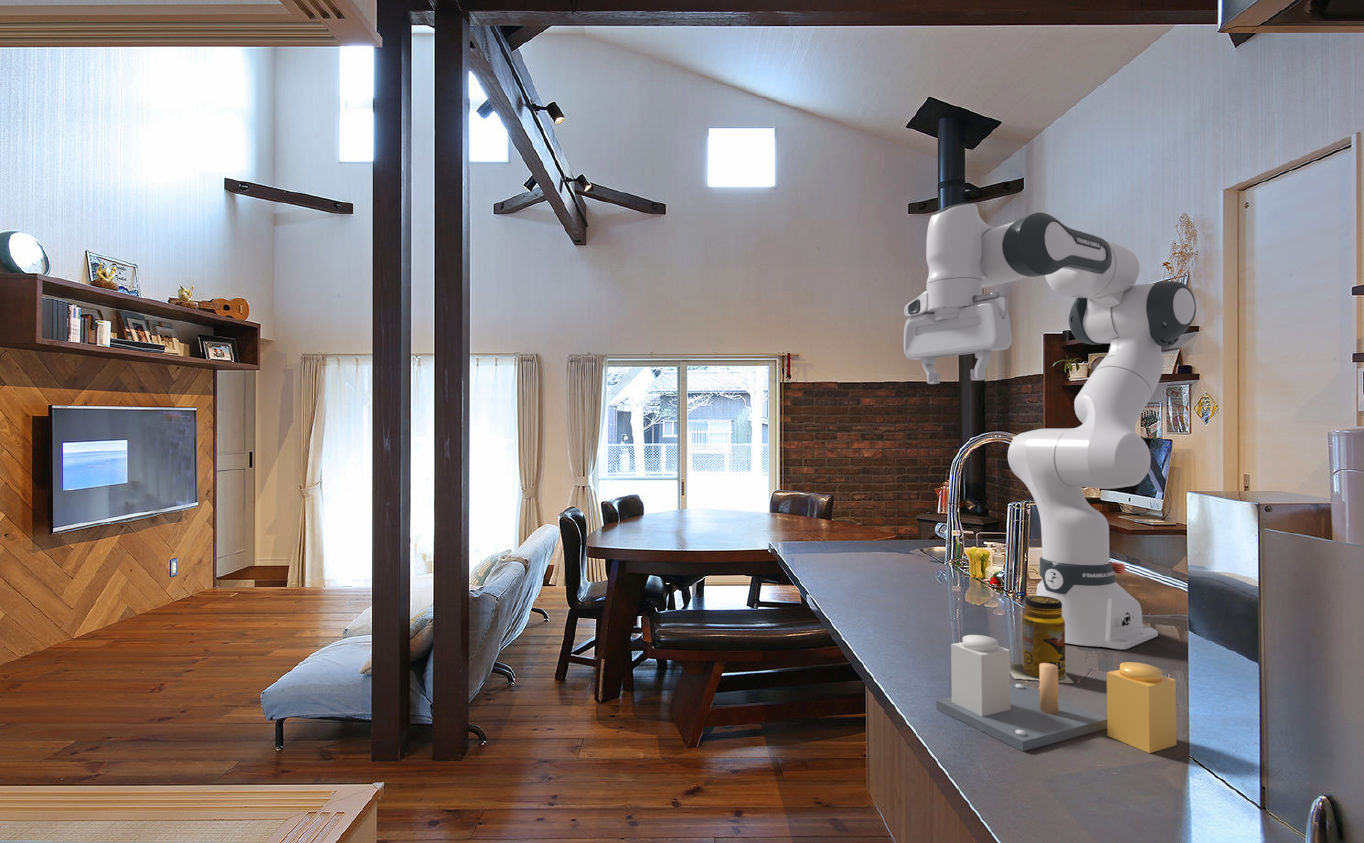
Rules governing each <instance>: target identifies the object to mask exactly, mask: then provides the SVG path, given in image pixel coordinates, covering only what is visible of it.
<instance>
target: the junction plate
mask: <svg viewBox="0 0 1364 843" xmlns="http://www.w3.org/2000/svg"><path fill="white" fill-rule="evenodd" d="M950 647H951V648H950V652H951V653H950V654H951V655H950V656H951V658H950V659H951V660H950V661H951V664H950V665H951V668H950V670H951V677H950V678H951V679H950V680H951V696H950V697H945V698H940V699H936V701H935V702H936V704H935V705H936V708H935V709H936V710H938V711H940V712H942V713H944V714H946V715H949V716H950V717H952V718H955V719H957V721H960V722H962V723H965V724H967V725H968V726H970V727H972V728H975V729H977V730H978V731H981V732H983V733H984V734H986V735H988V736H991V737H992V738H994V739H996V740H998V741H1001V742H1003V743H1005V744H1007V745H1009V746H1011V747H1013V748H1015V749H1017V750H1019V751H1021V752H1026V751H1029V750H1033V749H1036V748H1040V747H1045V746H1048V745H1051V744H1056V743H1059V742H1063V741H1066V740H1070V739H1074V738H1077V737H1081V736H1085V735H1088V734H1092V733H1095V732H1099V731H1103V730H1106V729H1107V716H1106V715H1102V714H1099V713H1097V712H1094V711H1093V710H1090V709H1087V708H1084V707H1082V706H1079V705H1077V704H1074V703H1073V702H1072V703H1071V702H1070V701H1069V702H1068V701H1066V700H1064V699H1061V698H1059V682H1058V666H1056V665H1054V664H1050V663H1040V664H1039V673H1040V680H1039V690H1038V689H1036V688H1033V687H1031V686H1028V685H1026V684H1023V683H1020V682H1016V683H1011V673H1010V663H1011V650H1010V649H1008V648H1005V647H1002V646H1000V645H999V642H998V639H996V638H995V637H991V636H987V635H980V634H967V635H964V636H962V642H960V641H959V642H957V643H956V642H955V643H951V644H950Z"/></svg>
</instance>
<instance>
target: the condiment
mask: <svg viewBox="0 0 1364 843" xmlns="http://www.w3.org/2000/svg"><path fill="white" fill-rule="evenodd" d="M1023 609H1024V610H1025V611H1024V612H1023V614H1022V616H1021V618H1022V619H1021V620H1022V621H1021V622H1022V623H1021V624H1022V626H1021V627H1022V632H1021V633H1022V642H1021V643H1022V663H1014V662H1010V676H1012V678H1014V679H1015V680H1031V681H1039V682H1040V673H1039V664H1040V663H1050V664H1054V665H1056V666H1058V684H1060V683H1061V684H1063V683H1064V684H1065V683H1066V684H1074V683H1075V682H1074V681H1073V680H1072V679H1071V678H1070V677H1069V676H1068V675H1067V673H1066V643H1065V620H1064V618H1063V617H1062V603H1061V601H1060V600H1059V599H1056V598H1052V597H1047V596H1036V595H1029V596H1027V597H1025V599H1024V608H1023Z"/></svg>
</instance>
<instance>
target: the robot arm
mask: <svg viewBox="0 0 1364 843" xmlns="http://www.w3.org/2000/svg"><path fill="white" fill-rule="evenodd" d="M925 246H926V248H925V250H926V254H925V255H926V259H925V260H926V264H927V267H928V277H927V280H926V291H924V292H922V293H921V294H920V295H918V297H916V298H914V299H913V300H912V301H910V302H909V303H907V304H906V305H905V306H904V311H903V312H904V316H905V317H908V319H907V320H906V321H905V323H904V328H903V352H904V355H905V357H906V358H907V359H908V360H912V361H913V360H914V361H915V360H916V361H920V363H921V364H920V365H921V366H922V369H923V371H924V372H925V374H926V383H927V384H928V385H936V384H937V385H938V384H940V383H941V373H938V372H937V371H936V370H937V369H936V367H935V365H936V364H937V358H939V359H940V358H947V357H955V356H963V355H970V354H974V356H975V357H974V358H975V359H977V360H976V363H975V365H974V368H973V369H972V368H971V369H970V372H969V373H970V374H969V375H970V380H971V381H984V380H986V370H987V367H988V366H989V363H990V362H991V359H992V352H996V351H1002V350H1003V351H1004V350H1009V348H1010V345H1012V343H1013V335H1012V326H1011V324H1012V323H1011V318H1010V315H1009V314H1010V313H1009V302H1008V301H1009V300H1008V298H1007V297H1006V296H1005V294H1003V293H1001V292H1000V291H993V292H990V293H985V294H983V289H984V288H989V287H993V286H998V285H1002V284H1003V285H1004V284H1007V283H1012V282H1016V281H1020V280H1025V279H1029V278H1034V277H1035V278H1036V277H1042V276H1044V277H1045V281H1046V282H1047V284H1048V286H1049V288H1050V289H1051V290H1052V291H1054V292H1055V293H1058V294H1060V295H1062V296H1066V297H1071V298H1075V300H1074V302H1073V303H1072V305H1071V308H1070V311H1069V315H1068V325H1069V329H1070V332H1071V333H1072V335H1073V337H1075V339H1076V340H1077V341H1079V343H1082V344H1086V345H1087V344H1088V345H1094V346H1095V345H1102V344H1110V346H1109V350H1108V353H1107V354H1106V355H1105V357H1104V358H1102V360H1101V361H1100V362H1099V363H1098V365H1097V366H1096V367H1095V369H1094V370H1093V372H1091V375H1090V376H1089V378H1087V380H1086V382H1085V383H1084V384H1083V387H1082V388H1081V389H1080V391H1079V392H1078V394H1077V395H1076V396H1075V398H1074V402H1073V404H1074V406H1073V408H1074V411H1075V415H1076V417H1077V419H1078V420H1079V421H1080V423H1082V424H1081V425H1079V426H1077V427H1074V428H1073V427H1072V428H1070V427H1069V428H1039V429H1033V430H1028V431H1024V432H1021V433H1018V434H1017V435H1016V436H1015V437H1013V439H1012V440H1011V442H1010V444H1009V447H1008V449H1007V462H1008V466H1009V467H1010V470H1011V472H1012V473H1013V474H1014V475H1015V476H1016V477H1017V478H1018V479H1019V480H1021V481H1022V483H1023V484H1024V485H1025V486H1026V487H1027V489H1028V491H1029V492H1030V494H1031V496H1032V498H1033V500H1034V503H1035V505H1036V507H1037V510H1038V515H1039V521H1040V532H1041V533H1040V535H1041V554H1042V555H1041V557H1040V558H1039V563H1038V568H1039V576H1040V578H1041V580H1040V582H1038V583H1037V586H1036V587H1037V588H1036V594H1035V596H1047V597H1052V598H1056V599H1059V600H1060V601H1061V603H1062V617H1063V618H1064V620H1065V644H1070V645H1077V646H1085V647H1097V648H1099V647H1102V648H1109V649H1115V650H1128V649H1130V648H1132V647H1133V648H1134V647H1135V646H1138V645H1140V644H1142V643H1145V642H1148V641H1149V640H1152V639H1154V638H1156V637H1158V636H1159V632H1158V630H1157V629H1155V628H1152V627H1151V626H1148V625H1145V624H1143V611H1142V607H1141V606H1142V605H1141V603H1140V602H1139V601H1138V600H1137V599H1135V597H1134V596H1132V595H1131V594H1130V593H1128V592H1127V591H1126V590H1125V589H1124V587H1122V586H1121V585H1119V584H1118V583H1117V581H1118V580H1117V579H1118V578H1117V576H1116V574H1118V575H1123V574H1125V572H1126V566H1125V564H1124V563H1120V562H1115V561H1113V562H1111V561H1110V525H1109V522H1108V520H1107V517H1105V516H1104V514H1103V513H1102V512H1100V511H1098V509H1095V508H1094V507H1093V506H1091V504H1090V503H1089V501H1087V499H1086V498H1085V495H1084V493H1083V489H1082V488H1088V489H1089V488H1092V489H1093V488H1094V489H1101V490H1102V489H1103V490H1111V489H1112V490H1113V489H1119V488H1126V487H1134V486H1136V485H1139V484H1140V483H1141V482H1142V481H1143V480H1144V479H1145V478H1146V476H1147V475H1148V473H1149V470H1150V467H1151V460H1152V459H1151V458H1152V457H1151V450H1150V449H1149V447H1148V445H1147V443H1146V441H1145V440H1144V439H1143V438H1142V437H1141V436H1140V435H1139V434H1137V433H1136V425H1137V422H1138V421H1139V418H1140V417H1141V415H1142V413H1143V411H1144V409H1145V408H1146V406H1147V404H1148V403H1149V401H1150V400H1151V398H1152V396H1153V394H1154V393H1155V391H1156V389H1157V387H1158V384H1159V382H1160V380H1161V377H1162V374H1163V371H1164V367H1165V357H1164V354H1163V352H1162V348H1169V347H1172V346H1174V345H1175V344H1176V343H1177V342H1178V341H1179V339H1180V337H1181V336H1182V335H1184V334H1185V333H1186V331H1187V330H1188V329H1189V328H1190V326H1191V325H1192V323H1193V321H1194V320H1195V317H1196V313H1197V305H1196V304H1197V303H1196V299H1195V295H1194V293H1193V292H1192V290H1191V289H1190V288H1189V287H1188V286H1187V285H1186V284H1185V283H1184V282H1180V281H1171V280H1170V281H1169V280H1166V281H1165V280H1164V281H1163V280H1159V281H1157V282H1155V283H1142V284H1137V283H1136V281H1137V279H1138V278H1139V275H1140V267H1141V266H1140V261H1139V259H1138V258H1137V255H1135V253H1134V252H1132V251H1131V250H1129V249H1128V248H1126V247H1124V246H1121V245H1120V244H1117V243H1114V242H1111V241H1106V240H1105V239H1103V238H1102V237H1099V236H1097V235H1094V234H1090V233H1087V232H1083V231H1080V230H1076V229H1074V228H1071V227H1069V226H1066V225H1065V224H1064V223H1063V222H1061V221H1060V220H1058V219H1057V218H1056V217H1054V216H1053V215H1051V214H1049V213H1047V212H1034V213H1032V214H1030V215H1028V216H1025V217H1021V218H1020V219H1017V220H1015V221H1012V222H1008V223H1006V224H1002V225H1000V226H997V227H993V226H991V225H989V224H987V223H986V222H985V221H984V220H983V219H982V218H981V216H980V213H979V208H978V206H977V204H975V203H972V202H962V203H956V204H953V205H948V206H946V207H944V208H941V209H938V210H936V211H935V212H934V213H933V214H932V215H931V216H930V219H929V221H928V225H927V232H926V245H925ZM1115 573H1116V574H1115Z"/></svg>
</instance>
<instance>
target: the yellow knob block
mask: <svg viewBox="0 0 1364 843" xmlns="http://www.w3.org/2000/svg"><path fill="white" fill-rule="evenodd" d="M1176 681H1177V680H1176V679H1174V678H1171V677H1169V676H1166V675H1163V670H1162V669H1160V668H1159V667H1157V666H1154V665H1152V664H1148V663H1143V662H1134V661H1133V662H1132V661H1126V662H1120V664H1119V669H1117V670H1112V671H1111V670H1110V671H1108V672H1106V717H1107V730H1106V731H1107V732H1106V734H1107V735H1106V736H1107V737H1110V738H1112V739H1114V740H1117V741H1119V742H1122V743H1124V744H1126V745H1129V746H1131V747H1132V748H1133V747H1134V748H1136V749H1139V750H1140V751H1143V752H1145V753H1148V754H1152V753H1155V752H1158V751H1162V750H1165V749H1168V748H1172V747H1174V746H1177V694H1176V693H1177V690H1176V689H1177V688H1176V687H1177V686H1176V685H1177V684H1176V683H1177V682H1176Z"/></svg>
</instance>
